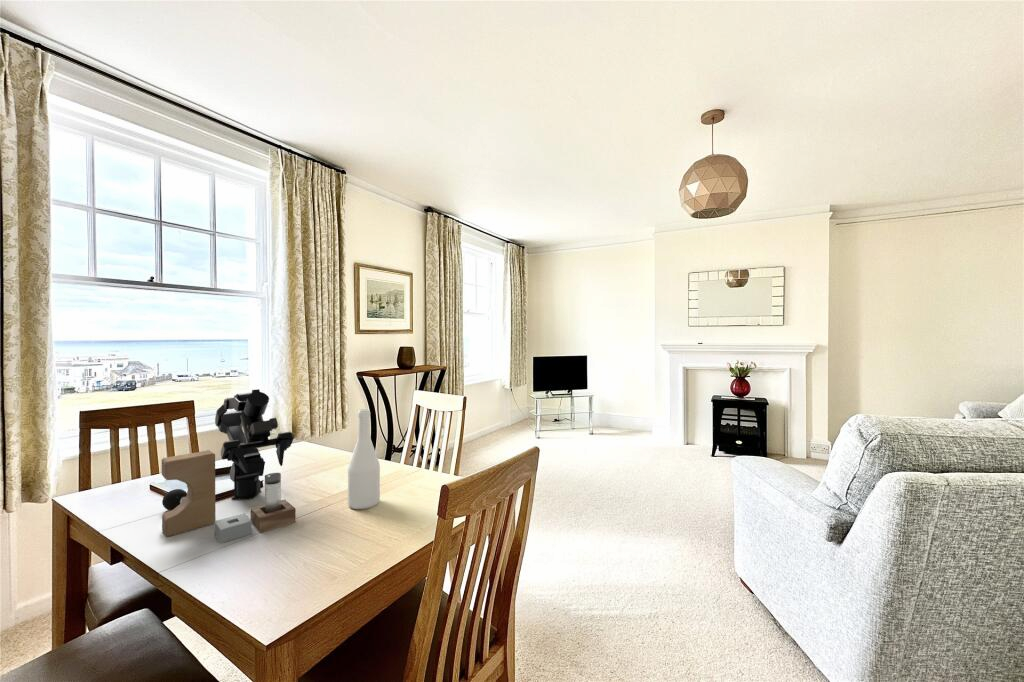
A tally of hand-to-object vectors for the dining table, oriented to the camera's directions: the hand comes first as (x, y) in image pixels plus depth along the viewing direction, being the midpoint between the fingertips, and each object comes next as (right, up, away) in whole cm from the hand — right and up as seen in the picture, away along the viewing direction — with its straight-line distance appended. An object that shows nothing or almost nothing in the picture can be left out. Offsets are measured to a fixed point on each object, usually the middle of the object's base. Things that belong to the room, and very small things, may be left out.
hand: (264, 468), depth 124 cm
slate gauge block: (-1, -14, -12) cm, 18 cm away
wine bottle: (+27, -14, +8) cm, 31 cm away
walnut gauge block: (+5, -14, -5) cm, 16 cm away
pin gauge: (+5, -13, -5) cm, 15 cm away
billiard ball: (-29, -14, +3) cm, 32 cm away
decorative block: (-16, -14, -9) cm, 23 cm away
